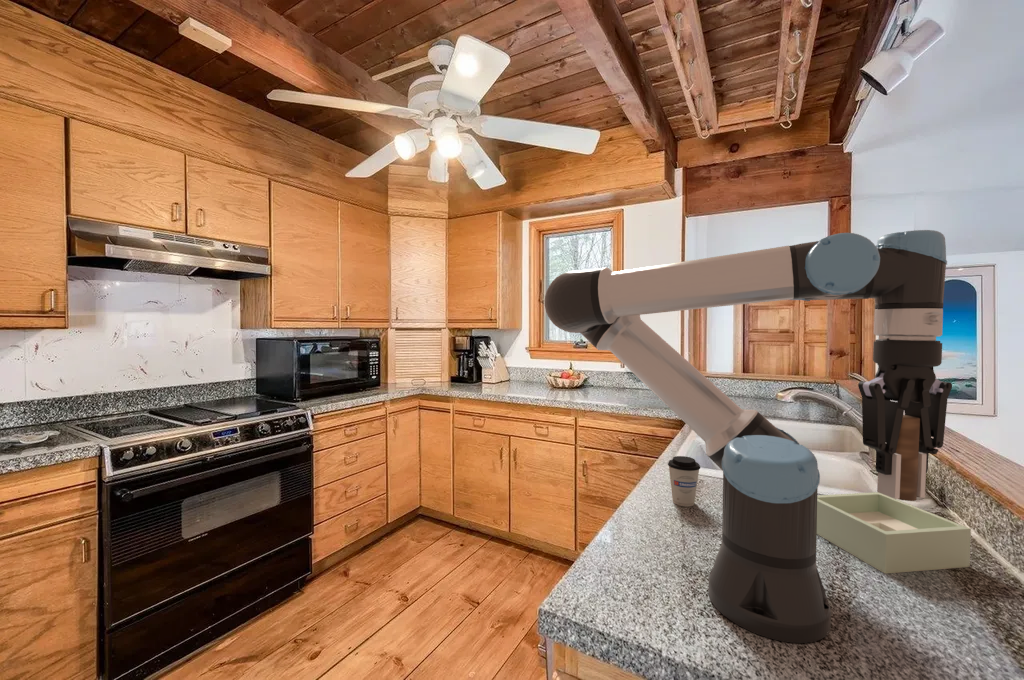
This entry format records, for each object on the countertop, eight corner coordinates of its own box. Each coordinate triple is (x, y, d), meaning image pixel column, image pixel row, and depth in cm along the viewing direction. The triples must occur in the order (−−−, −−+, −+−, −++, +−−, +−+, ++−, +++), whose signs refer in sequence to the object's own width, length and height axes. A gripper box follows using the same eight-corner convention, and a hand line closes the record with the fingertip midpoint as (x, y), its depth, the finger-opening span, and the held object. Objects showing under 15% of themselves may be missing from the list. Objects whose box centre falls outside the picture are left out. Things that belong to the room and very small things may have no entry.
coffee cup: (667, 494, 103) (667, 453, 103) (698, 498, 101) (699, 456, 101) (667, 506, 97) (667, 462, 97) (701, 510, 94) (701, 465, 94)
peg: (901, 501, 63) (905, 419, 62) (877, 491, 66) (881, 414, 66) (923, 500, 63) (927, 419, 63) (898, 490, 67) (901, 413, 66)
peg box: (884, 573, 70) (886, 534, 70) (806, 528, 86) (807, 496, 86) (969, 566, 72) (970, 528, 72) (877, 523, 88) (878, 492, 88)
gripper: (881, 339, 59) (875, 507, 60) (985, 339, 61) (978, 502, 62) (834, 337, 67) (829, 487, 67) (928, 337, 69) (922, 483, 69)
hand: (900, 494), depth 65 cm, fingers closed on peg, 3 cm apart
